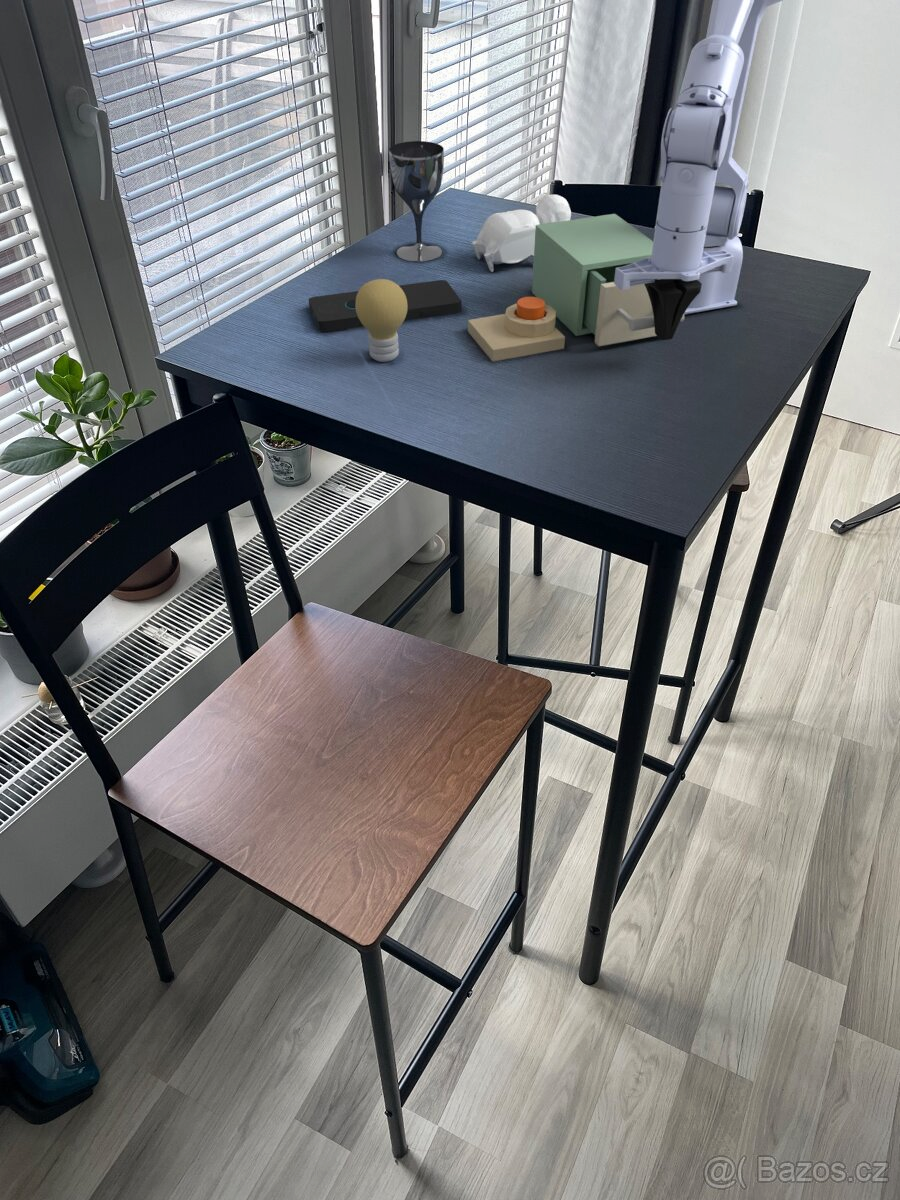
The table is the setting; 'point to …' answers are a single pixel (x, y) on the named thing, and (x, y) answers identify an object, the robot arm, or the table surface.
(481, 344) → the control block
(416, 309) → the smart home device
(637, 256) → the green drawer cabinet
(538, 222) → the white pig figurine
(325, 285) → the table surface
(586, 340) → the table surface
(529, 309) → the button
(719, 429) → the table surface
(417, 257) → the wine glass
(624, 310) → the cream pull-out drawer
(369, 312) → the light bulb
